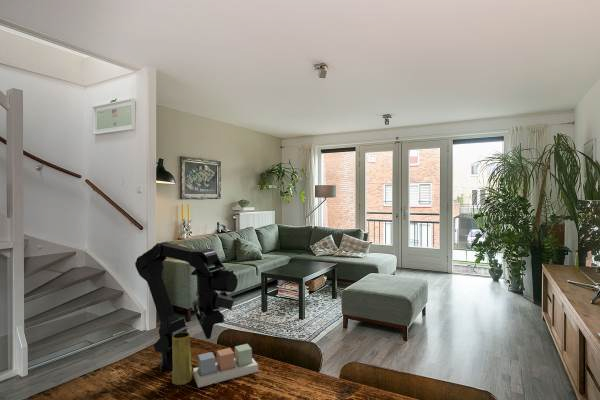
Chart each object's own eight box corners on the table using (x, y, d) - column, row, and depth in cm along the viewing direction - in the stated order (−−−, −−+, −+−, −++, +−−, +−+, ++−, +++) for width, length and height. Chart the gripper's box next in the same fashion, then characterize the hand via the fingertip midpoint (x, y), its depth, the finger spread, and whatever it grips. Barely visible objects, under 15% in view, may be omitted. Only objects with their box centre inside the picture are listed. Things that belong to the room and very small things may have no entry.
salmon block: (217, 366, 113) (216, 350, 113) (230, 362, 115) (230, 347, 115) (220, 371, 110) (220, 356, 109) (234, 368, 112) (233, 352, 112)
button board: (193, 375, 112) (193, 368, 112) (249, 361, 120) (249, 354, 120) (198, 387, 105) (198, 379, 105) (258, 371, 113) (257, 364, 113)
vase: (186, 386, 106) (184, 339, 105) (167, 384, 107) (166, 338, 107) (196, 376, 112) (194, 331, 111) (178, 374, 113) (177, 330, 113)
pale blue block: (198, 370, 111) (197, 355, 111) (212, 367, 113) (211, 351, 113) (201, 376, 107) (200, 360, 107) (215, 373, 109) (215, 357, 109)
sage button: (235, 361, 116) (234, 346, 116) (247, 358, 118) (247, 343, 118) (239, 367, 112) (238, 351, 112) (252, 363, 114) (251, 348, 114)
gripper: (239, 292, 107) (241, 342, 107) (223, 279, 124) (224, 323, 124) (202, 298, 102) (204, 351, 102) (191, 284, 118) (192, 330, 119)
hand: (207, 337), depth 112 cm, fingers closed
